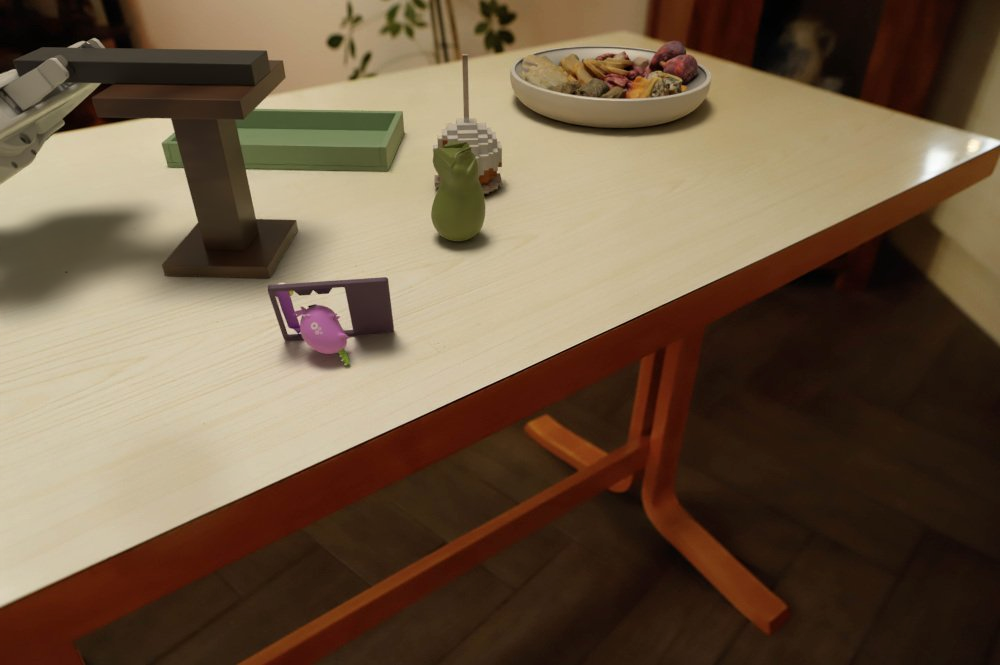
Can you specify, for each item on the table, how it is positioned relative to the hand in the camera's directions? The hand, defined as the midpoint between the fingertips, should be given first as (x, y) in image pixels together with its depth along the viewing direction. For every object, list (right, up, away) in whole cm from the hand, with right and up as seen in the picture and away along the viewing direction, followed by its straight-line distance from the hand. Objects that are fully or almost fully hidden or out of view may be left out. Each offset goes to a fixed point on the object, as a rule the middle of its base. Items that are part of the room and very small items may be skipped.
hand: (82, 55), depth 61 cm
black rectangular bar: (+5, -2, +1) cm, 6 cm away
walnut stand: (+9, -16, +10) cm, 21 cm away
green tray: (+8, 0, +33) cm, 34 cm away
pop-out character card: (+23, -25, -3) cm, 34 cm away
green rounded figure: (+31, -14, +13) cm, 37 cm away
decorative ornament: (+32, -7, +24) cm, 40 cm away
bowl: (+52, +12, +50) cm, 73 cm away
